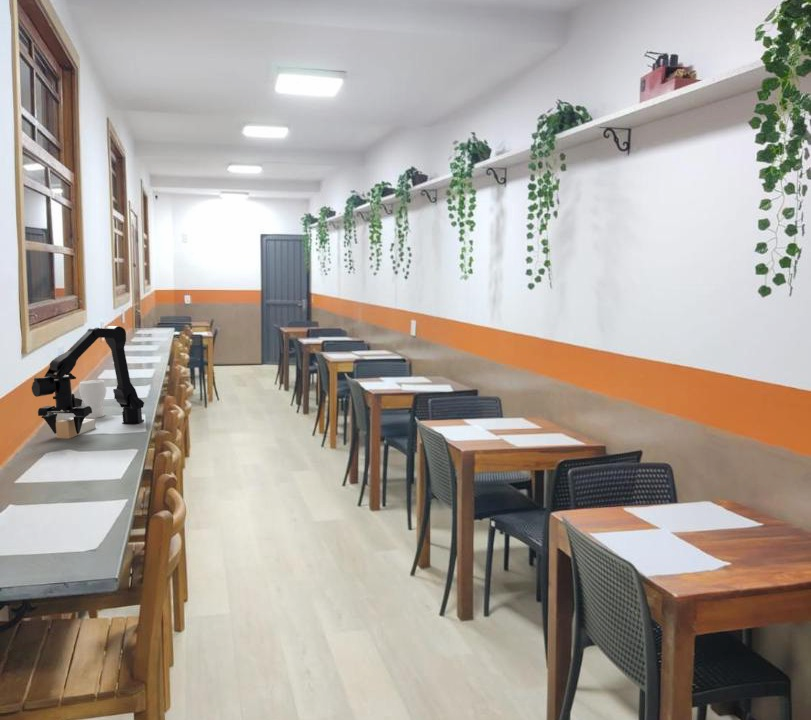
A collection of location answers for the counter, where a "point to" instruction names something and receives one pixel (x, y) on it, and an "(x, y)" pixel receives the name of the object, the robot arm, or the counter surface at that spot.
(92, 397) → the cup
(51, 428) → the robot arm
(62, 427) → the light brown cardboard box
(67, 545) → the counter surface
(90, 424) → the white slotted tower
